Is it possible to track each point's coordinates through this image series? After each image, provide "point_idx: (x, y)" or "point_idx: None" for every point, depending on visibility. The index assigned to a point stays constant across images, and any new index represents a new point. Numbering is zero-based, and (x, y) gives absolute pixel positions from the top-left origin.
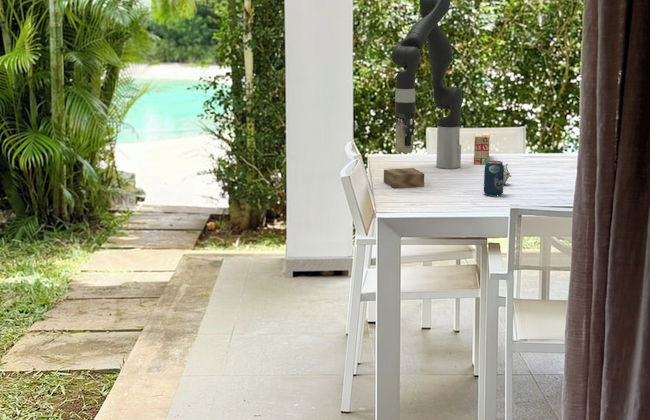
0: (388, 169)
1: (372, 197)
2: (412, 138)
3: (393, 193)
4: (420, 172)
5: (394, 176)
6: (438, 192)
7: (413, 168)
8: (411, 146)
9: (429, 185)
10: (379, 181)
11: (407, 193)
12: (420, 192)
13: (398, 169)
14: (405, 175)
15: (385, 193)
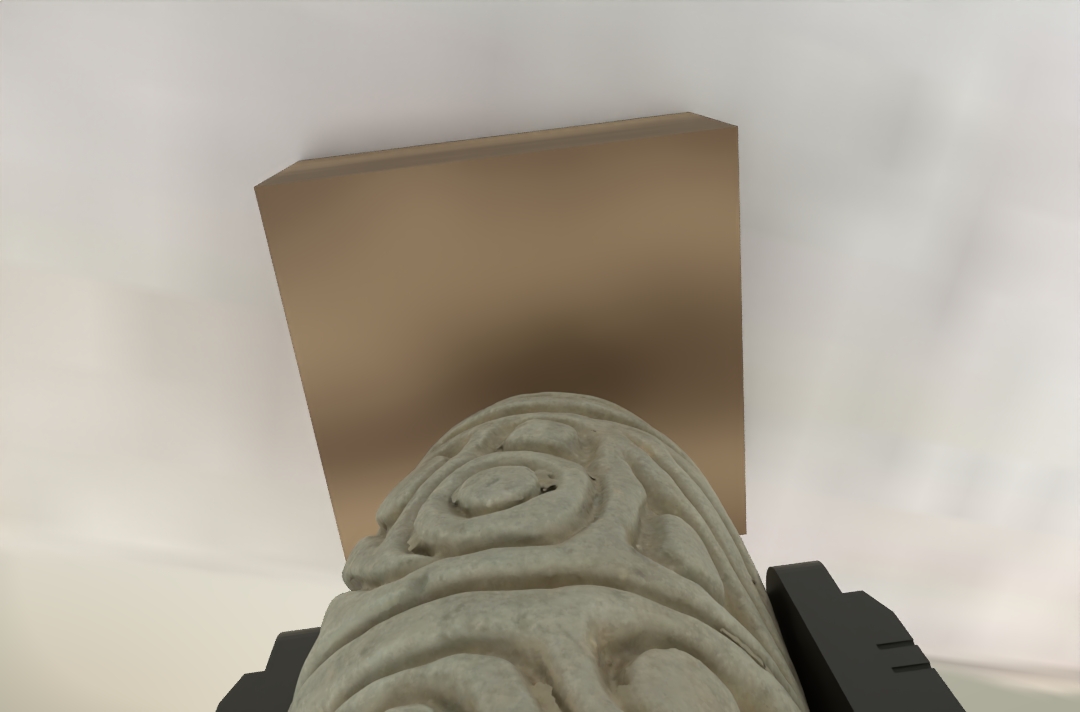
0: (355, 536)
1: (1006, 676)
2: (693, 593)
3: (919, 498)
4: (639, 164)
5: (742, 523)
6: (1045, 21)
7: (300, 192)
8: (716, 500)
9: (627, 18)
10: (321, 529)
11: (966, 375)
12: (969, 233)
13: (365, 418)
14: (741, 397)
15: (895, 562)
